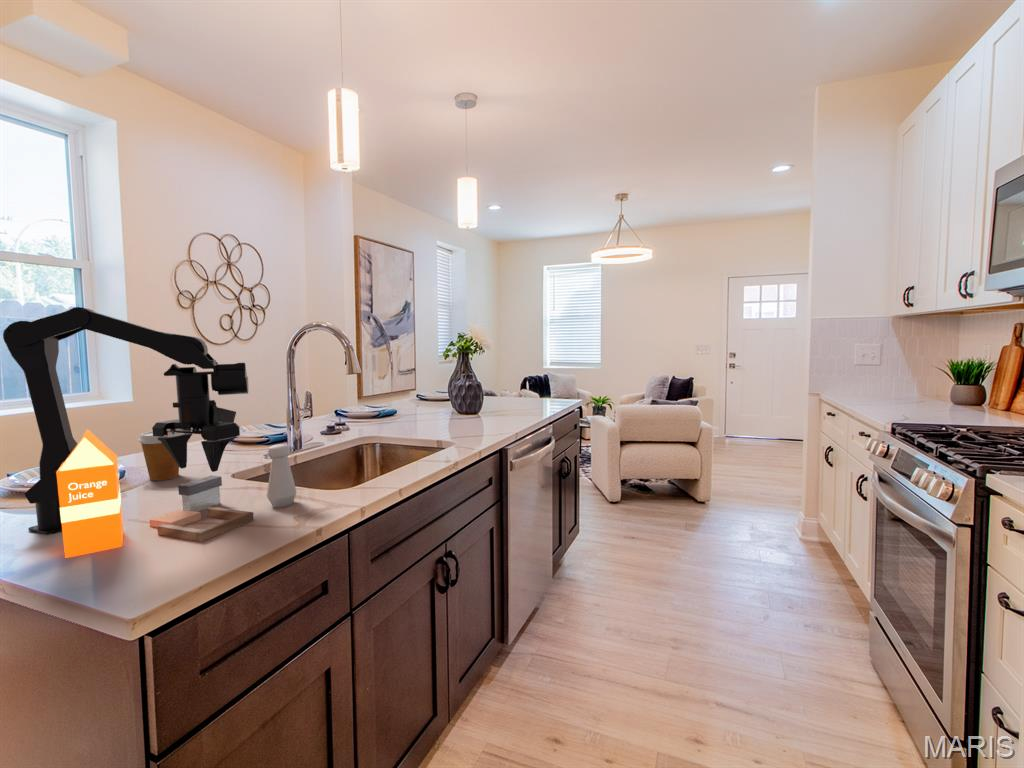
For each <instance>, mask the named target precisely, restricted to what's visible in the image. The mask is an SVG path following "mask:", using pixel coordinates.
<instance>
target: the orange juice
mask: <svg viewBox="0 0 1024 768" xmlns="http://www.w3.org/2000/svg"><path fill="white" fill-rule="evenodd" d="M77 445H78V446H76V447H75V448H76V449H75V448H74V449H75V450H74V449H73V451H72V452H73V453H72V452H71V453H72V454H71V453H70V454H71V455H69V456H68V457H69V458H68V457H67V458H68V459H66V460H65V461H66V462H65V461H64V462H63V463H62V465H61V466H60V467H59V469H58V470H57V472H56V473H57V483H58V493H59V503H60V516H61V523H62V530H61V531H62V540H63V550H64V558H65V559H67V558H72V557H78V556H83V555H86V554H92V553H97V552H102V551H107V550H111V549H117V548H121V547H123V541H124V533H125V531H124V523H123V521H124V520H123V511H122V498H121V497H122V495H121V486H120V480H119V479H120V474H119V469H118V468H119V466H118V457H119V456H118V455H117V454H116V453H115V452H113V450H111V449H110V448H109V447H107V445H105V443H104V442H102V441H101V440H100V439H99V438H98V437H97V436H96V435H95V434H94V433H92V432H91V430H90V429H86V431H85V432H84V434H83V435H82V438H81V439H80V440H79V442H77Z"/></svg>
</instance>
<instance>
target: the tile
mask: <svg viewBox="0 0 1024 768" xmlns="http://www.w3.org/2000/svg"><path fill="white" fill-rule="evenodd" d="M201 519H202V516H201V511H197V512H194V511H187V510H183V509H177V510H174V511H171V512H168V513H164V514H162V515H158V516H156V517H152V518H150V519H149V527H151V528H152V527H153V528H157V526H159V525H162V524H168V525H174V526H181V527H184V526H185V525H187V524H191V523H194V522H197V521H199V520H201Z"/></svg>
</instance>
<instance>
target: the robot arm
mask: <svg viewBox="0 0 1024 768" xmlns="http://www.w3.org/2000/svg"><path fill="white" fill-rule="evenodd" d="M84 330H86V331H90V332H94V333H98V334H100V335H104V336H108V337H111V338H115V339H118V340H121V341H125V342H128V343H131V344H134V345H138V346H142V347H144V348H149V349H151V350H153V351H155V352H157V353H158V354H161V355H163V356H165V357H167V358H169V359H172V360H173V361H175V362H178V363H179V364H183V365H188V367H187V366H185V367H184V366H183V367H181V366H178V365H177V364H176V363H173V364H171V365H170V367H169V368H168V369H167V370H166V371H164V373H163V376H164V377H173V376H175V384H176V386H175V387H176V396H177V397H176V398H177V399H176V400H177V401H176V402H172V408H175V409H177V411H178V413H177V414H178V419H170V420H164V421H159V422H158V421H157V422H155V423H154V424H153V426H152V428H151V429H152V431H153V436H159V438H157V439H158V440H160V441H161V442H162V444H163V445H164V446H165V447H166V449H167V450H168V451H169V453H170V454H171V455H172V457H173V458H174V460H175V461H176V463H177V464H178V465H179V469H186V468H187V464H188V442H189V440H190V438H191V437H192V436H193V435H200V436H201V437H202V439H203V440H202V441H200V442H201V446H202V449H203V451H204V454H205V458H206V461H207V463H208V466H209V469H210V471H211V472H213V473H215V472H217V471H219V467H220V464H221V461H222V457H223V454H224V452H225V449H226V447H227V445H228V444H229V443H230V442H231V441H234V440H235V439H236V437H240V435H241V431H240V430H241V429H240V425H238V424H237V423H236V422H235V419H236V415H237V411H235V410H231V409H227V408H223V407H219V406H217V402H216V401H215V399H210V386H211V390H212V391H213V392H217V394H218V396H226V395H227V396H228V395H245V394H249V376H248V375H247V367H246V366H247V365H246V362H236V363H220V364H219V363H218V362H217V359H214V357H213V356H212V355H211V354H209V352H208V351H209V349H208V346H207V344H206V342H205V341H204V340H203V339H201V338H200V337H196V336H191V335H185V334H177V333H169V332H164V331H159V330H155V329H152V328H148V327H146V326H143V325H139V324H137V323H136V324H135V323H133V322H129V321H126V320H122V319H119V318H117V317H116V318H115V317H112V316H109V315H106V314H103V313H99V312H97V311H94V310H93V309H90V308H85V307H79V306H76V307H72V308H70V309H68V310H65V311H63V312H60V313H56V314H52V315H48V316H46V317H41V318H38V319H36V320H32V321H31V320H19V321H14V322H12V323H11V324H8V326H6V328H5V329H3V333H2V339H3V341H4V343H5V346H6V347H7V350H8V351H9V353H10V355H11V357H12V359H14V361H15V362H16V364H17V365H19V367H20V369H21V370H22V371H23V373H24V374H23V375H24V376H25V381H26V384H27V389H28V392H29V397H30V401H31V404H32V409H33V411H34V417H35V419H36V424H37V427H38V432H39V435H40V440H41V443H42V449H41V451H40V458H39V480H38V481H37V482H35V484H33V485H32V486H31V487H30V488H29V489H28V490H27V491H26V492H25V493H24V497H25V498H26V499H27V501H28V503H29V504H35V512H36V513H35V514H36V522H37V524H35V525H33V526H30V527H28V529H27V530H28V531H30V532H35V533H41V534H46V535H50V534H54V533H57V532H60V531H62V523H61V516H60V503H59V493H58V483H57V473H56V472H57V470H58V469H59V467H60V466H61V465H62V463H63V462H64V461H65V460H66V459H68V458H69V457H68V456H69V455H71V454H72V453H73V452H72V451H73V449H74V448H75V447H76V446H78V445H79V444H78V442H77V441H76V440H75V438H74V437H73V433H72V428H71V424H70V421H69V417H68V412H67V407H66V403H65V400H64V396H63V391H62V387H61V385H60V384H61V383H60V381H59V376H58V372H57V363H58V357H59V352H60V351H59V350H60V349H59V347H60V346H59V345H60V344H59V341H62V340H65V339H67V338H69V337H72V336H74V335H76V334H78V333H80V332H82V331H84ZM189 365H195V366H196V367H199V368H201V370H202V369H203V370H207V371H197V368H196V367H195V366H189ZM209 370H210V371H209ZM211 370H213V371H211ZM209 375H210V382H209ZM210 384H211V385H210ZM77 444H78V445H77ZM75 449H76V448H75ZM75 449H74V450H75ZM71 452H72V453H71ZM70 453H71V454H70ZM67 457H68V458H67ZM65 462H66V461H65Z"/></svg>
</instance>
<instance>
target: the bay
mask: <svg viewBox="0 0 1024 768" xmlns="http://www.w3.org/2000/svg"><path fill="white" fill-rule="evenodd" d="M206 515H207V517H209V518H210V517H211V518H217V519H224V521H221V522H219V523H216V524H213V525H211V526H208V527H206V528H204V529H199V528H192V527H186V526H174V525H168V524H162V525H159V526H157V527H156V530H157V535H159V536H164V537H171V538H174V539H175V538H177V539H181V540H189V541H192V542H193V541H194V542H200V543H202V542H204V541H208V540H210V539H212V538H215V537H217V536H220V535H222V534H224V533H226V532H228V531H231V530H233V529H237V528H238V527H240V526H243V525H246V524H248V523H251V522H253V521H254V517H255V516H254V512H252V511H245V510H238V509H232V508H225V507H217V506H211V507H209V508H206Z"/></svg>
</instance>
